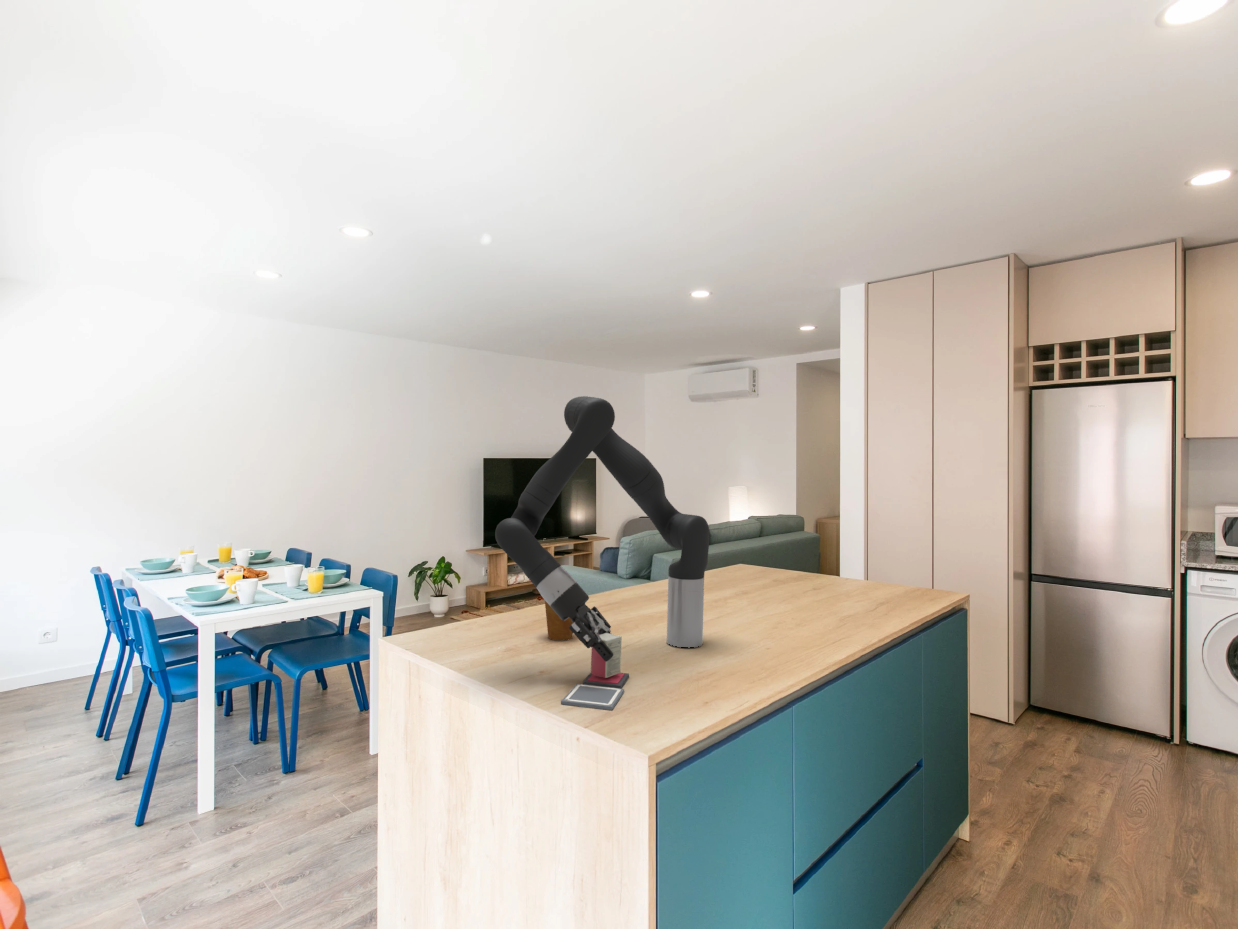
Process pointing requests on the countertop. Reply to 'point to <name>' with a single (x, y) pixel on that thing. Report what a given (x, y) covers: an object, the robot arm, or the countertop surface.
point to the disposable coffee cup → (557, 625)
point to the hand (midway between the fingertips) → (614, 653)
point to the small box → (613, 664)
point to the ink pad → (607, 680)
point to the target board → (593, 696)
